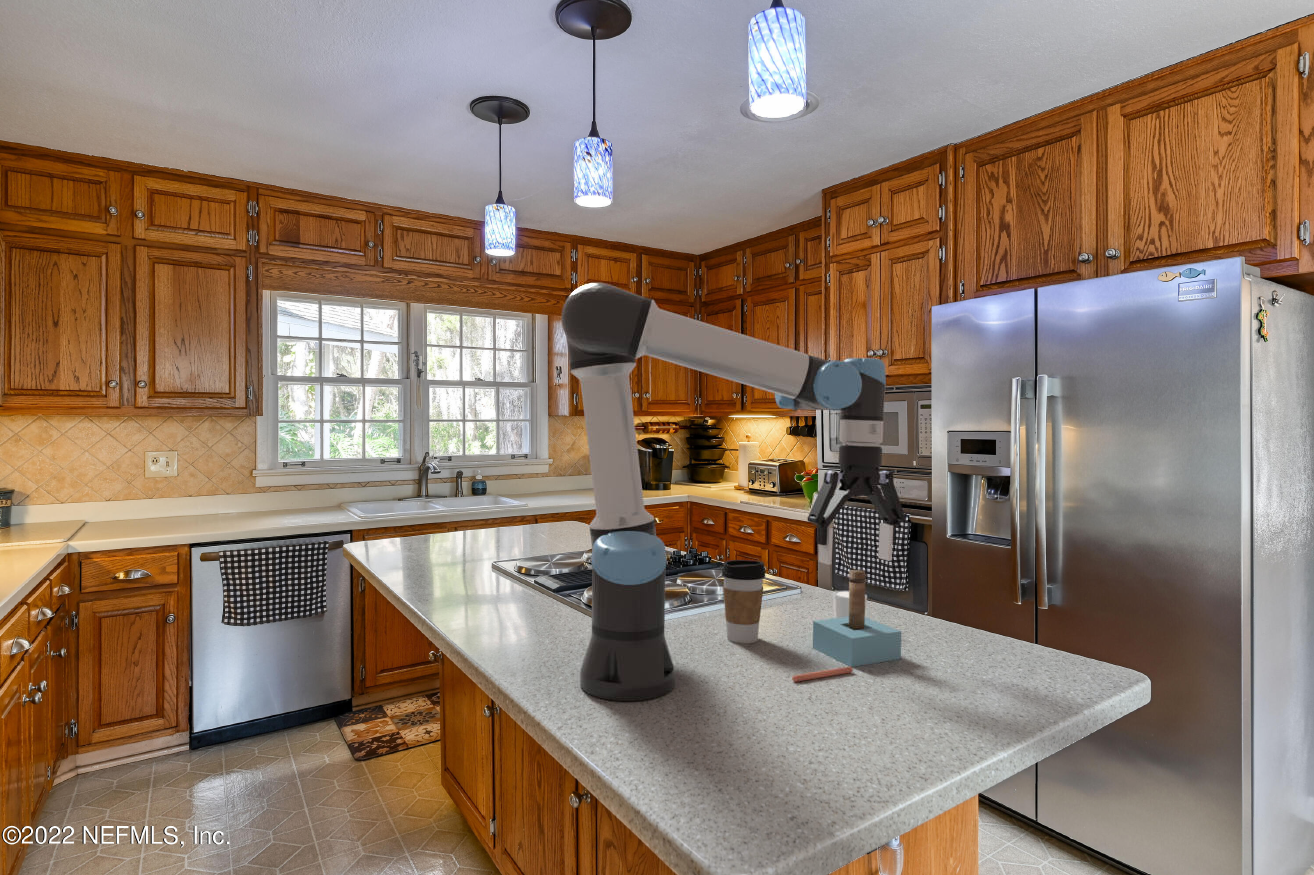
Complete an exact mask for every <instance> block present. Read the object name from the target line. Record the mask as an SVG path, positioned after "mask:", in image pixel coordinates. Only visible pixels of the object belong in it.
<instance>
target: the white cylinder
mask: <svg viewBox="0 0 1314 875" xmlns="http://www.w3.org/2000/svg"><path fill="white" fill-rule="evenodd" d="M867 600H868V595H867V594H865V611H867V610H866V609H867ZM832 601H833V602H832V604H833V605H832V606H833V618H841V617H849V590H837V591H834V592H832Z"/></svg>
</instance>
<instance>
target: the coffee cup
mask: <svg viewBox="0 0 1314 875" xmlns="http://www.w3.org/2000/svg"><path fill="white" fill-rule="evenodd" d="M764 563H765V562H764V561H761V560H760V561H759V560H749V559H748V560H747V559H732V560H725V561H724V562H723V566H722V569H721V576H722V577H723V586H722V588H723V602H724V614H725V625H726V626H725V628H726V629H725V630H726V638H727V640H728V641H730V642H732V643H737V644H753V643H756V642H757V641H758V639H759V629H760V621H761V612H762V603H763V593H764V586H763V584H764V583H763V582H764V578H766V571H765V564H764Z"/></svg>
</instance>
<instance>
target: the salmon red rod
mask: <svg viewBox="0 0 1314 875" xmlns="http://www.w3.org/2000/svg"><path fill="white" fill-rule="evenodd" d="M853 670H854V669H853V667H850V666H844V667H839V668H838V667H837V668H832V669H831V668H830V669H826V670H820V671H814V672H813V671H812V672H807V673H801V674H795V675H792V678H791V680H792V681H793V682H795V683H797V682H802V681H808V680H816V679H820V678H821V679H822V678H826V677H832V676H838V675H845V674H851V673H852V672H853Z"/></svg>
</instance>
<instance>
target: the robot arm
mask: <svg viewBox="0 0 1314 875" xmlns="http://www.w3.org/2000/svg"><path fill="white" fill-rule="evenodd" d="M561 326H562V328H563V332H564V335H565V336H566V337H565V338H566V346H567V353H568V362H569V370H570V373H571V375H573V376H575V377H576V378H577V379H578V380H579V381H580V388H581V397H582V398H581V399H582V404H583V406H582V407H583V414H584V422H585V430H586V436H587V438H586V439H587V446H588V455H589V462H590V463H589V465H590V470H591V471H590V472H591V479H592V488H593V496H594V503H595V504H594V505H595V516H594V518H593V519H592V521H591V522H590V524H589V534H590V543H591V557H590V559H591V562H590V563H591V566H592V568H591V569H592V570H591V571H592V574H591V575H592V576H591V578H592V579H591V580H592V582H591V636H590V639H589V642H588V646H587V648H586V651H585V654H584V657H583V660H582V663H581V667H580V671H579V675H580V676H579V685H580V688H581V689H582V690H583V691H584V692H585V693H587V694H589V695H591V696H593V697H596V698H600V699H604V700H609V701H617V702H637V701H638V702H640V701H646V700H651V699H652V700H653V699H655V698H659V697H661V696H663V695H664V696H665V695H666V694H668V693H670V691H672V690H673V688H674V687H675V684H676V678H675V677H676V672H675V671H676V670H675V666H674V663H673V659H672V657H671V653H670V650H669V647H668V646H669V645H668V643H667V640H666V636H665V626H666V625H665V617H666V615H665V614H666V610H665V609H666V606H665V605H666V603H665V602H666V567H667V563H668V559H667V558H668V557H667V554H666V545H665V543H664V542H663V540H662V539H661V538H660V537H658V536H657V531H656V523H655V522H656V521H655V517H654V516H653V514H652V513H649V511H647V510H646V509H645V502H644V492H643V488H642V487H643V486H642V485H643V484H642V476H641V468H640V459H639V458H640V457H639V450H638V443H637V442H638V441H637V435H636V427H635V420H634V419H635V417H634V411H633V410H634V409H633V402H632V393H631V385H630V383H631V382H630V377H629V376H630V373H631V372H632V371H633V370H634V368H635V367H636V366H637V362H636V360H637V359H639V358H641V357H642V356H643V357H644V356H648V357H652V358H655V359H658V360H662V361H665V362H669V363H672V364H675V365H678V366H682V367H684V368H689V369H692V370H696V371H699V372H702V373H705V374H709V375H712V376H716V377H718V378H722V379H726V380H729V381H733V382H736V383H738V384H739V383H740V384H743V385H747V386H749V387H753V388H755V389H760V390H762V391H767V392H770V393H772V394H774V398H775V399H774V400H775V402H776V405H777V406H778V407H779V408H780V409H789V410H793V411H796V410H803V411H804V410H805V411H806V410H811V411H836V412H837V411H840V416H839V417H840V418H839V419H840V423H839V440H838V441H839V442H842V444H841V445H840V444H839V445H840V446H838V463H839V466H840V469H839V472H838V471H834V470H829V469H828V470H825V472H824V476H823V483H822V485H821V487H820V489H819V491H818V494H817V496H816V499H815V500H814V502H813V505H812V507H811V509H810V512H809V514H808V516H807V517H806V518H807V521H808V523H812V524H813V525H816V544H818V545H819V547H818V563H822V564H824V565H828V566H829V565H832V560H833V542H834V541H833V538H834V527H831V526H830V525H831V524H832V522H833V521H834V520H835V518H836V517H837V516H838V515H839V512H840V511H841V510H842V509H843V507H844V506H845V504H846V503H847V501H848V500H850V499H851V498H852V497H861V496H863V497H867V498H868V499H869V500H870V502H871V504H872V505H873V507H874V509H875V510H876V512H877V513H878V514H879V516H880V518H881V519H882V521H883V523H881V522H880V523H879V529H878V530H879V531H878V556H877V557H878V559H881V560H884V561H887V562H889V561H892V559H893V557H892V556H893V542H895V539H896V526H900V524H901V522H903V521H905V520H906V516H905V512H904V509H903V507H902V503H901V500H900V498H899V495H898V492H897V488H896V486H895V482H894V472H893V471H888V470H880V469H879V468H880V467H882V464H883V448H882V447H881V446H880V444H883V441H884V440H883V436H884V413H885V412H884V411H885V400H886V399H885V396H886V394H885V393H886V388H887V383H886V382H887V380H886V365H885V363H884V361H883V360H881V359H880V358H879V359H878V358H872V357H871V358H869V357H860V358H859V357H852V358H851V357H850V358H845V359H844V360H837V359H836V360H828V359H824V358H820V357H817V356H814V355H810V354H807V353H804V352H801V351H799V350H794V349H791V348H788V347H785V346H781V345H778V344H775V343H772V342H769V341H766V340H762V339H759V338H755V337H753V336H749V335H746V334H742V333H739V332H735V331H733V330H730V329H726V328H724V327H723V328H722V327H719V326H717V325H713V324H710V323H707V322H704V321H700V320H698V319H694V318H691V317H687V316H684V315H681V314H678V313H675V312H671V311H668V310H664V309H661V308H659V307H658V305H657V303H656V302H655V300H654V299H651V298H648V297H645V296H642V295H638V294H636V293H633V292H630V291H628V290H625V289H622V288H620V287H617V286H614V285H611V284H609V283H603V282H590V283H586V284H584V285H582V286H579V287H578V288H576V289H574V291H572V292H571V293H570V294H569V296H568V297H567V298H566V300H565V302H564V304H563V306H562V310H561ZM879 470H880V471H879ZM838 483H840V484H839V485H838ZM878 483H879V485H878ZM879 486H880V487H879Z"/></svg>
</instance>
